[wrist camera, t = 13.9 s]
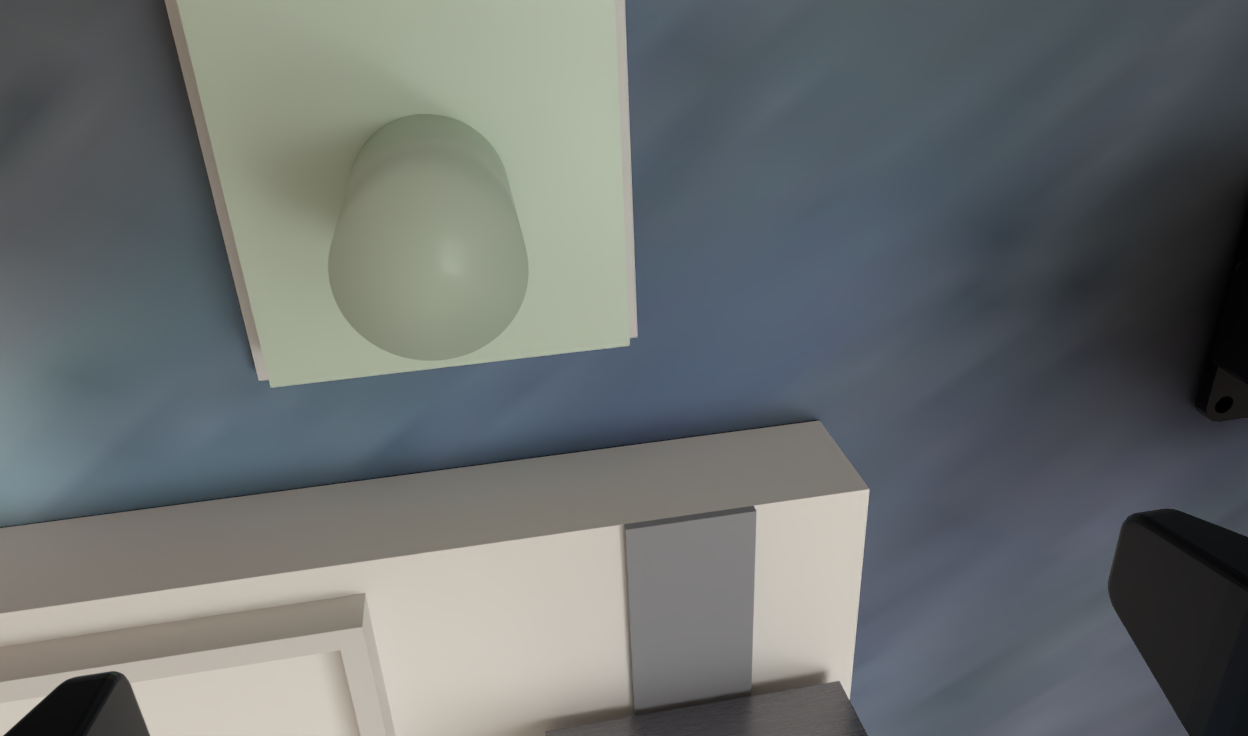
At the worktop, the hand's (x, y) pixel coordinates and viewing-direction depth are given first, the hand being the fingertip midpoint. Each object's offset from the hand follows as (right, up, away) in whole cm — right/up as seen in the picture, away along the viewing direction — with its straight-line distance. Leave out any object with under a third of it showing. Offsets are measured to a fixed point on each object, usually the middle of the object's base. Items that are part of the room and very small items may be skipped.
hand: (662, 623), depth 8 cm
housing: (-6, -5, +16) cm, 17 cm away
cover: (-4, +6, +10) cm, 12 cm away
